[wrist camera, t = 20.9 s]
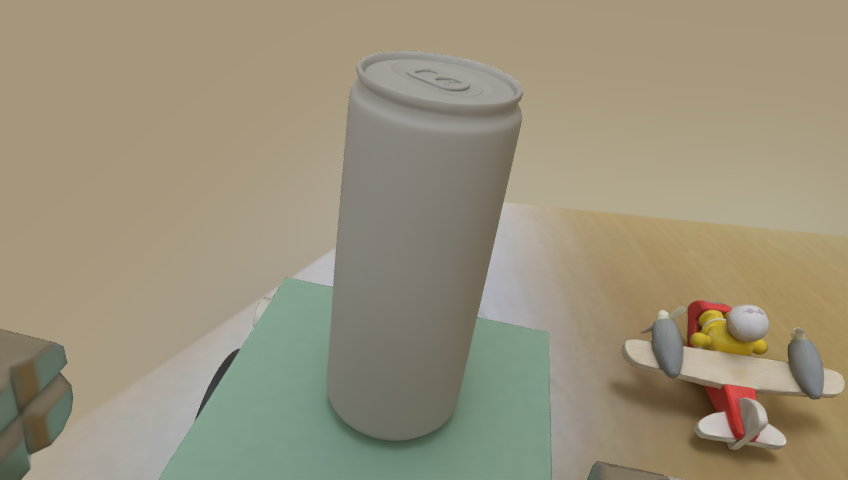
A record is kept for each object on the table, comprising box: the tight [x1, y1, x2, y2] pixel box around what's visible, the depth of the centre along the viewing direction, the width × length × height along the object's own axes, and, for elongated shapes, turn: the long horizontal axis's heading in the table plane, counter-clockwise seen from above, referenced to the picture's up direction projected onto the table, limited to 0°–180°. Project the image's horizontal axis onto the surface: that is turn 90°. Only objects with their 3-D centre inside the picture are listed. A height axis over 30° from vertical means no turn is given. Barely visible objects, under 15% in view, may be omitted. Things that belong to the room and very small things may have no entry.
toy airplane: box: [622, 300, 845, 450], centre depth 35 cm, size 9×9×6 cm
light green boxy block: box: [158, 278, 552, 480], centre depth 26 cm, size 12×12×7 cm
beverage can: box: [327, 51, 523, 441], centre depth 21 cm, size 5×5×12 cm
